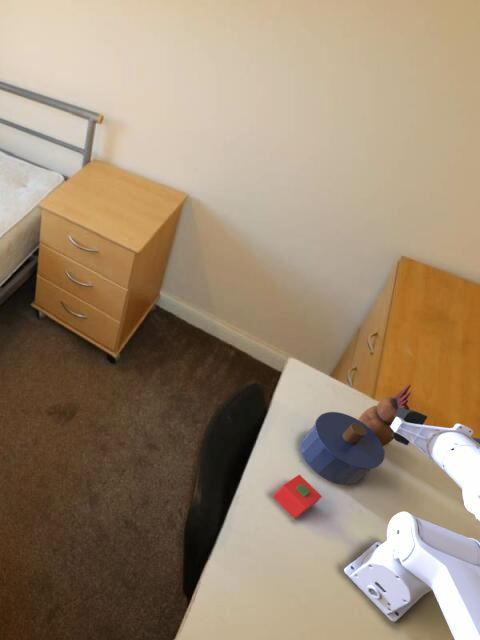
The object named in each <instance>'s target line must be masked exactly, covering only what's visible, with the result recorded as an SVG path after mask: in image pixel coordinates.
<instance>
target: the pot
mask: <svg viewBox="0 0 480 640" xmlns="http://www.w3.org/2000/svg"><path fill="white" fill-rule="evenodd" d="M300 451H301V454H302V457H303V459H304V461H305V462H306V464H307V465H308V466H309V467H310V468H311V469H312V471H314V472H315V473H316V474H317V475H319V476H320V477H322V478H323V479H325V480H327V481H329V482H331V483H334V484H337V485H343V486H344V485H345V486H347V485H348V486H350V485H353V484H355V483H357V482H358V481H359V480H361V479H362V478H363V477H364V476H365V475H367V474H368V473H369V472H370V471H371V470H372V469H359V468H355V467H352V466H349V465H347V464H345V463H343V462H341V461H339V460H338V459H336V458H335V457H334V456H332V455H331V454H330V453H329V452H328V451H327V450H326V449H325V448H324V447H323V446H322V444H321V443H320V441H319V440H318V438H317V436H316V433H315V424H314V425H313V426H312V427H311V428H310V430H309V431H307V433H306V434H305V435H304V436H303V438H302V440H301V442H300Z"/></svg>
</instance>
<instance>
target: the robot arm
mask: <svg viewBox="0 0 480 640" xmlns="http://www.w3.org/2000/svg"><path fill="white" fill-rule="evenodd" d="M393 417H394V421H393V423H392V425H391V426H390V427H391V428H392V430H393V431H394V432H393V434H392V437H393V438H394V439H393V440H395V441H396V442H398V443H400V444H402V445H405V446H408V445H409V443H411V444H412V445H413V446H414V447H416V448H417V450H419V451H420V452H421V453H422V454H424V455H425V456H426V457H427V458H428V459H430V460H431V461H432V462H433V463H435V464H436V465H438V466H439V467H440V468H441V469H442V471H444V473H446V474H447V476H449V477H450V478H451V479H452V480H453V482H455V483H456V485H457V486H458V487H459V488H460V489H461V490H462V494H461V495H462V500H463V505H464V507H465V509H466V510H467V512H469V513H471V514H473V515H474V516H475V519H476V520H477V521H478V522H480V438H478V437H473V435H474V430H473V429H472V428H471V427H469V426H467V425H464V424H461V423H455V424H454V426H453V427H443V426H436V425H428V424H427V425H426V424H424V423H425V422H426V420H427V419H428V416H427V415H426V414H423V413H420V412H419V411H417V410H413V409H410V410H406V409H404V408H401V407H399V408H398V410H397V411H396V413H395V414H394V416H393ZM343 572H344V574H346V576H348V577H349V579H350V580H351V581H352V582H353V584H355V585H356V586H357V587H358V588H359V589H360V590H361V592H362V593H363V594H365V595H366V596H367V598H368V599H369V600H370V601H371V602H372V603H373V604H374V605H375V606H376V607H377V608H378V609H379V610H380V611H381V612H382V613H383V614H384V615H385V616H386V617H387V619H388V620H389V621H391V622H392V623H395V622H397V621H398V620H399V619H400V618H401V617H402V616H403V615H404V614H405V613H406V612H407V611H408V610H409V609H411V608H412V607H413V606H414V605H415V604H416V603H417V602H418V601H419V600H420V599H421V598H422V597H423V596H424V595H426V594H428V593H429V592H431V591H433V594H434V597H435V598H436V600H437V603H438V605H439V607H440V610H441V612H442V615H443V616H444V619H445V621H446V623H447V625H448V628H449V630H450V632H451V635H452V637H453V639H454V640H480V541H479V540H478V539H475V538H472V537H467V536H465V535H462V534H460V533H458V532H455V531H453V530H450V529H448V528H445V527H442V526H439V525H437V524H435V523H433V522H430V521H427V520H425V519H422V518H421V517H417V516H415V515H413V514H412V513H409V512H408V511H399V512H398V513H396V514H394V515H393V516H392V517H391V519H390V520H389V522H388V525H387V529H386V540H385V541H384V542H383V543H382V542H380V541H376V542H375V543H374V544H372V545H371V546H370V547H369V548H367V550H365V551H364V552H363V553H361V554H360V555H359V556H358V557H356V558H355V560H353V561H352V562H351V563H350V564H348V565H347V566H346V567H345V568H344V569H343Z"/></svg>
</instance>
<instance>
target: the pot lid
mask: <svg viewBox="0 0 480 640" xmlns="http://www.w3.org/2000/svg"><path fill="white" fill-rule="evenodd" d="M314 425H315V433H316V436H317V438H318V440H319V441H320V443H321V444H322V446H323V447H324V448H325V449H326V450H327V451H328V452H329V453H330V454H331V455H332V456H334V457H335V458H336V459H338V460H339V461H341V462H343V463H345V464H347V465H349V466H352V467H355V468H359V469H371V470H373V469H376V468H378V467H379V466H381V465H382V463H383V461H384V460H385V455H386V454H385V448H384V446H383V445H382V443H381V441H380V440H379V438H378V437H377V436H376V434H375V433H374V432H373V431H372V430H371V429H370V428H369V427H368V426H366V425H365V424H364V423H362V422H361V421H359V420H358V418H355V417H354V416H352V415H349V414H347V413H343V412H342V413H341V412H338V411H328V412H324V413H322V414H320V415H319V416H318V417H317V418H316V420H315V422H314Z"/></svg>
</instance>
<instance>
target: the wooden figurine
mask: <svg viewBox="0 0 480 640" xmlns="http://www.w3.org/2000/svg"><path fill="white" fill-rule="evenodd" d="M410 388H411V384H408V385H406V387H404V388H403V389H402V390H400V391H399V392H398V393H397V394H396V395H395V396H388V397H385V398H383V399H382V400H380V401H379V402H378V403H377V404H376V405H372V406H370V407H369V408H367V409H366V410H365V411H364V412H363V413H362V414H361V415H360V417H358V418H357V420H359V421H361V422H362V423H364V424H365V425H366V426H368V427H369V428H370V429H371V430H372V431H373V432H374V433H375V434H376V436H377V437H378V438H379V440H380V441H381V443H382V445H383V447H385V446H387V445H388V444H389V443H391V442H392V441H393V440H395V439H394V438H393V437H392V434H393V432H394V431H393V430H392V428H391V427H390V426H391V425H392V423H393V421H394V417H393V416H394V414H395V413H396V411H397V410H398V408H399V407H401V408H404V409H406V410H411V409H410V407H409V405H408V403H409V400H408V398H409V397H410V396H411V392H408V391H409V389H410Z"/></svg>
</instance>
